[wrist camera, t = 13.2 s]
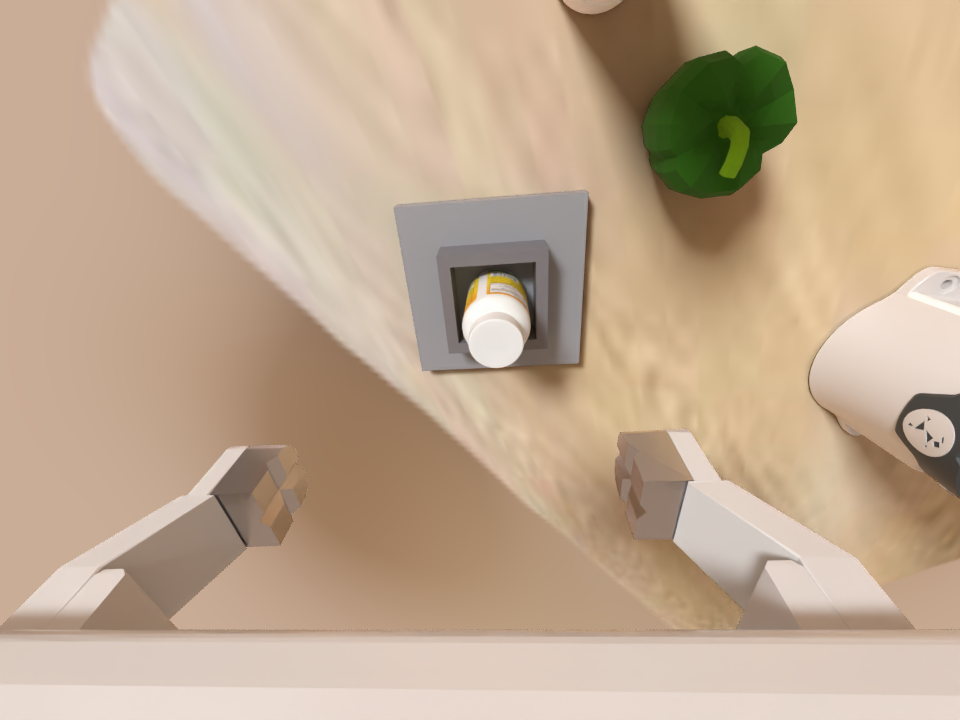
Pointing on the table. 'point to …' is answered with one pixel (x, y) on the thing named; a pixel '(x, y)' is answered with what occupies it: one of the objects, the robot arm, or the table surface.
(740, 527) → the robot arm
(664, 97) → the bell pepper
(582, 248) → the bottle stand
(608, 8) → the water bottle
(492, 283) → the supplement bottle
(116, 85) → the table surface
